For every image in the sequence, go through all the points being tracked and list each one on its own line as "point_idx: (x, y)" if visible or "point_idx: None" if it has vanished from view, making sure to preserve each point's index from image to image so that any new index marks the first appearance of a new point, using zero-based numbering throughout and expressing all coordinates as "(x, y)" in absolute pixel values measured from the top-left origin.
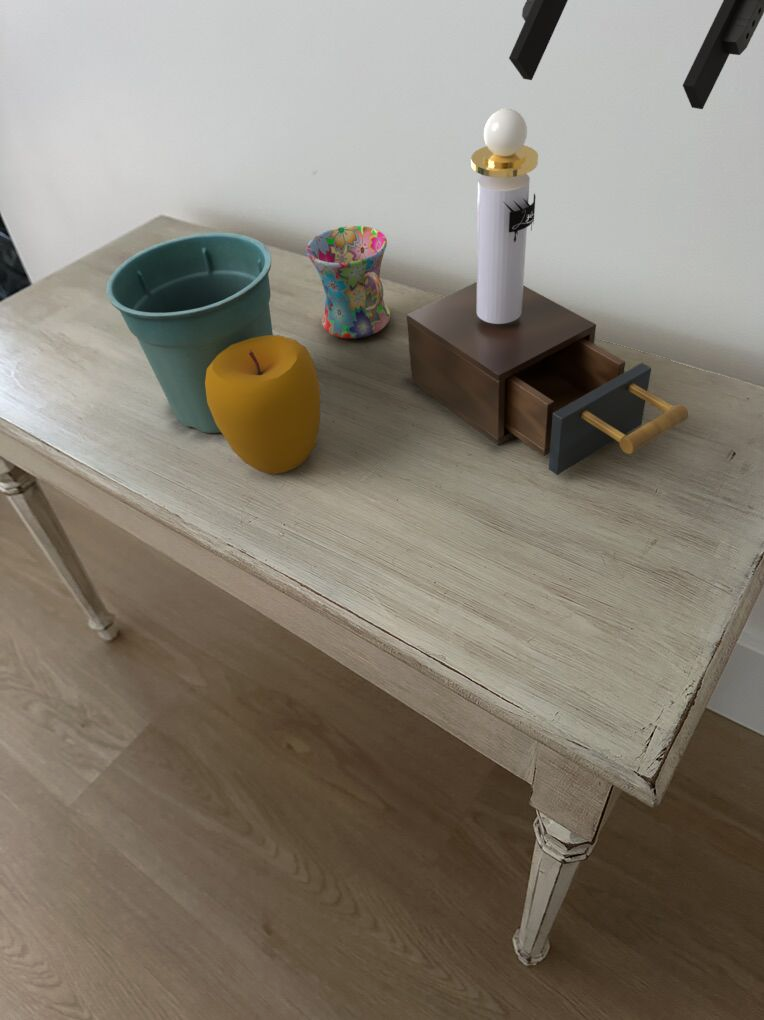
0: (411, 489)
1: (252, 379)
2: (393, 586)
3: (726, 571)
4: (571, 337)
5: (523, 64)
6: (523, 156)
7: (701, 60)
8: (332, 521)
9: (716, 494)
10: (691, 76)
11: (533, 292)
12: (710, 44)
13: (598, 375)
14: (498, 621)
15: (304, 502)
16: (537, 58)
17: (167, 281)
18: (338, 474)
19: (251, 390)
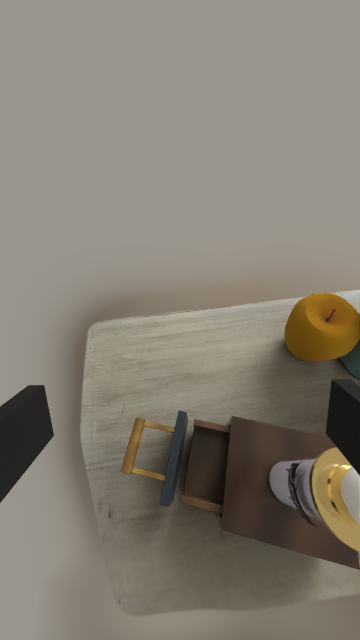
0: (234, 369)
1: (313, 303)
2: (198, 326)
3: (88, 417)
4: (224, 494)
5: (332, 401)
6: (336, 504)
7: (7, 406)
8: (244, 333)
9: (107, 468)
10: (28, 391)
11: (300, 549)
12: None
13: (199, 497)
14: (155, 338)
15: (264, 333)
16: (346, 448)
17: None
18: (269, 354)
19: (305, 299)
